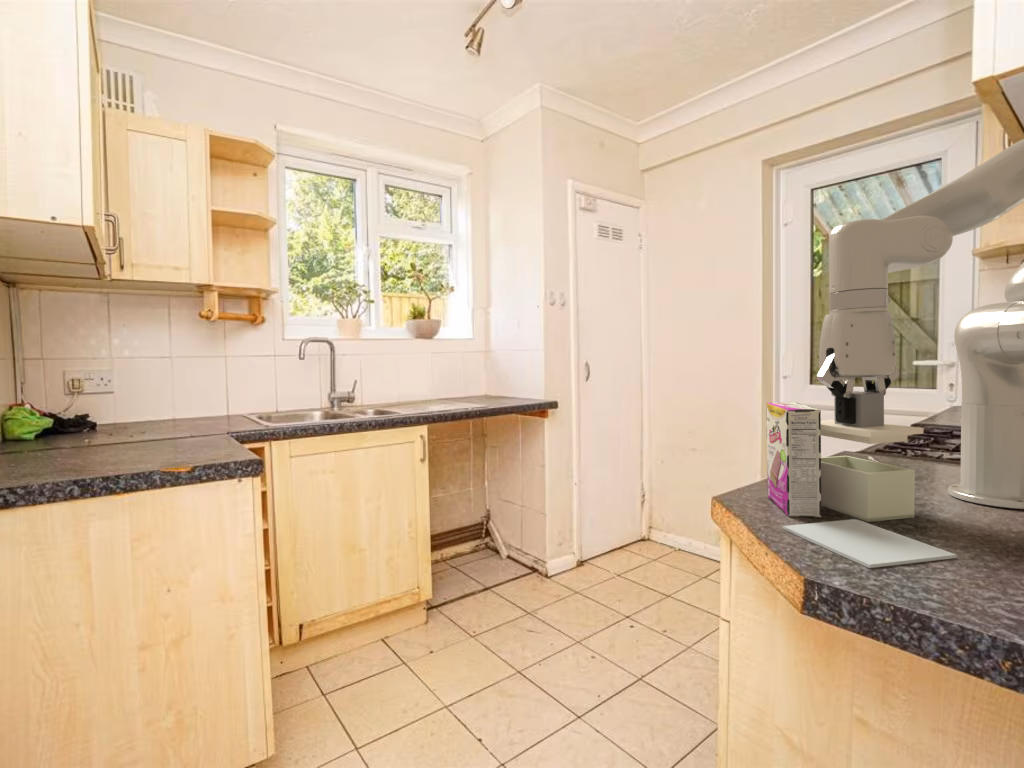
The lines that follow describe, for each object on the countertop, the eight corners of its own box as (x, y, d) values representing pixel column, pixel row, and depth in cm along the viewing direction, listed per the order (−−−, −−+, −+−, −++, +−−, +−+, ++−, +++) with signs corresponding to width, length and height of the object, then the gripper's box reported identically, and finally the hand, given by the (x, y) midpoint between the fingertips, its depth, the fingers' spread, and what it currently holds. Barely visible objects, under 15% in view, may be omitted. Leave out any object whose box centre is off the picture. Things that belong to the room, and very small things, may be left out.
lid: (848, 430, 87) (848, 389, 87) (923, 441, 74) (923, 393, 74) (802, 433, 86) (802, 391, 85) (870, 446, 73) (870, 396, 72)
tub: (846, 496, 87) (846, 455, 87) (914, 517, 75) (914, 470, 75) (805, 500, 86) (805, 458, 85) (867, 521, 74) (868, 473, 73)
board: (855, 521, 74) (855, 519, 74) (956, 557, 60) (956, 554, 60) (782, 528, 72) (782, 526, 72) (869, 568, 58) (869, 564, 58)
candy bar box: (765, 497, 88) (764, 402, 87) (797, 498, 87) (796, 401, 86) (786, 517, 77) (786, 408, 76) (823, 518, 76) (823, 408, 75)
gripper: (882, 305, 84) (882, 416, 85) (792, 307, 81) (793, 422, 82) (927, 300, 77) (927, 421, 78) (830, 302, 74) (831, 428, 75)
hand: (858, 420), depth 80 cm, fingers closed on lid, 4 cm apart
